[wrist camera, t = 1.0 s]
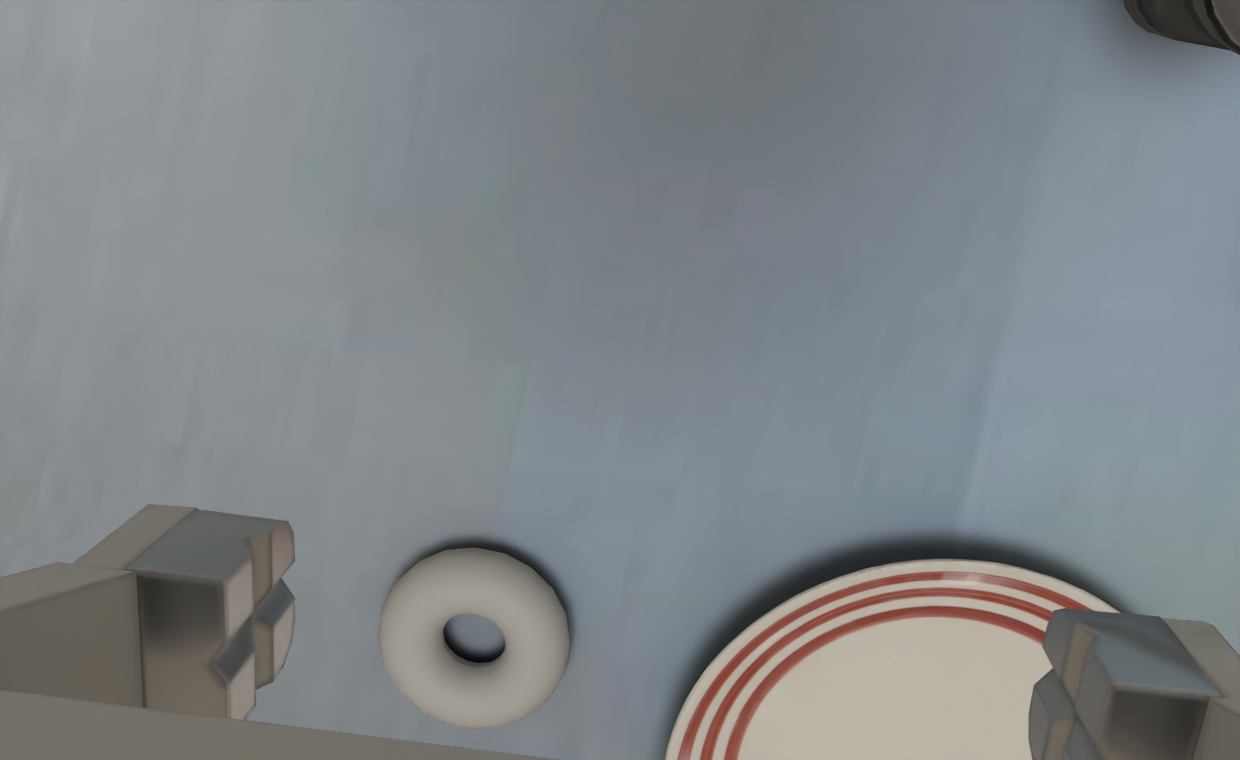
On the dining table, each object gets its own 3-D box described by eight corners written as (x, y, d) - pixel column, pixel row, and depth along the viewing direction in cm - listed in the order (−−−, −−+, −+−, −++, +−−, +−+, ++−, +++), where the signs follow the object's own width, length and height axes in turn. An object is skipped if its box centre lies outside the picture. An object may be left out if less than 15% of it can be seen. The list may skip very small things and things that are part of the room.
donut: (599, 573, 57) (417, 509, 57) (593, 605, 54) (400, 538, 54) (540, 728, 60) (366, 669, 60) (531, 768, 57) (346, 705, 57)
